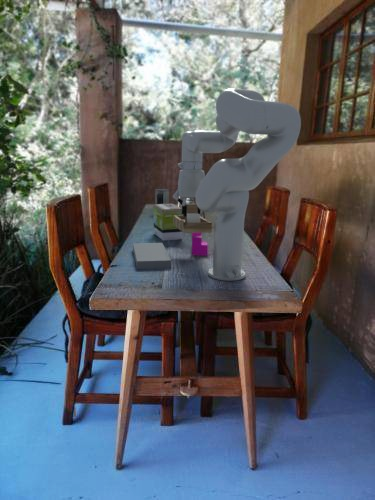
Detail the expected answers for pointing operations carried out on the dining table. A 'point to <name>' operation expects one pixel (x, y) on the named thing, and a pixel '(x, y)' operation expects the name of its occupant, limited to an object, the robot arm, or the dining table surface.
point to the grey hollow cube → (161, 196)
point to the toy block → (198, 245)
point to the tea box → (166, 221)
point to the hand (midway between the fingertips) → (190, 215)
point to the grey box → (193, 218)
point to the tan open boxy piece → (186, 227)
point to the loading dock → (151, 256)
